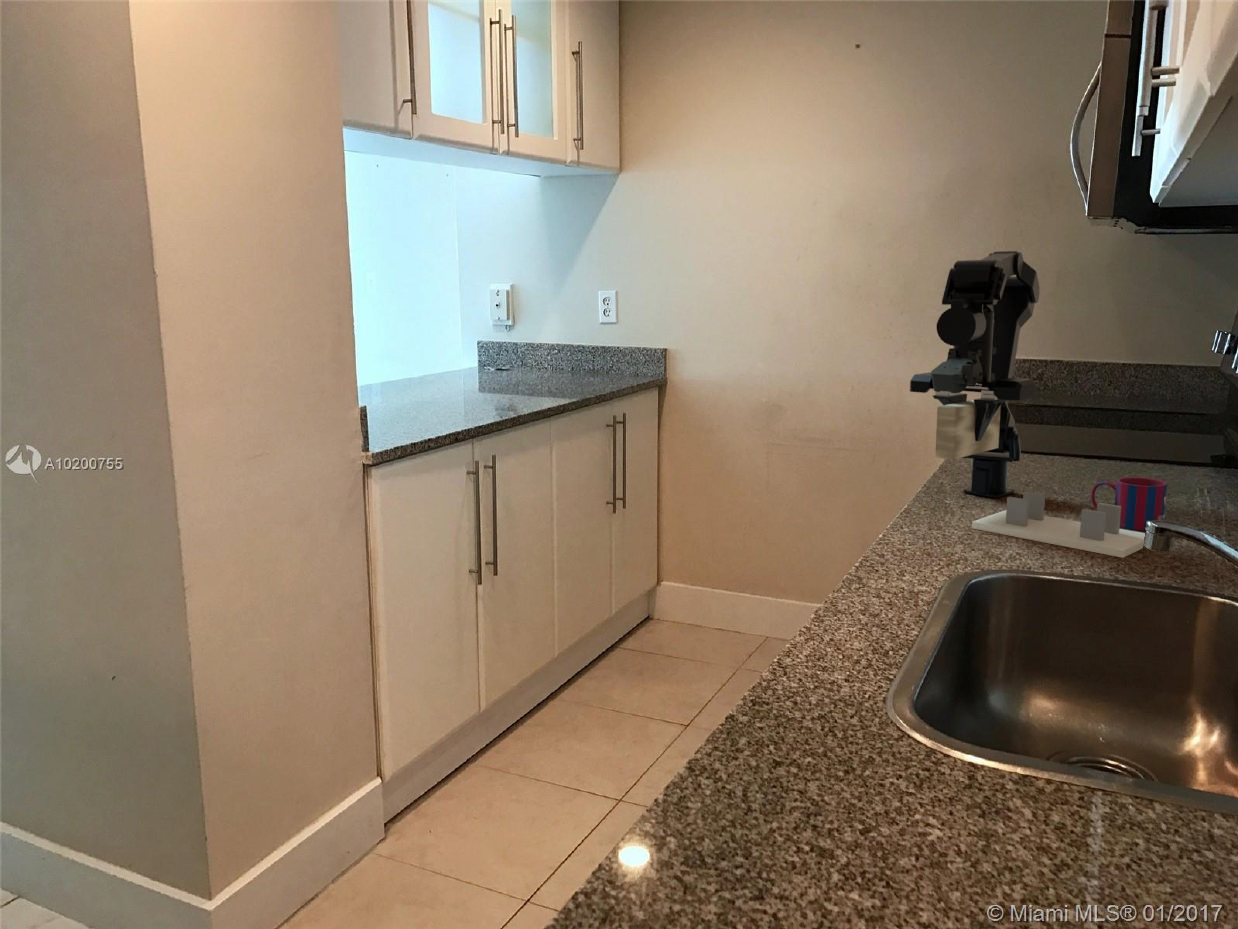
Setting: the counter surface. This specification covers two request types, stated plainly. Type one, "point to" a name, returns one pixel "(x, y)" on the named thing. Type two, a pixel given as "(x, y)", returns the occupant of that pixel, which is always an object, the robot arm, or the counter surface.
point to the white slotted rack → (1064, 526)
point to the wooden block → (963, 431)
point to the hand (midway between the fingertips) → (968, 439)
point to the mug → (1137, 500)
